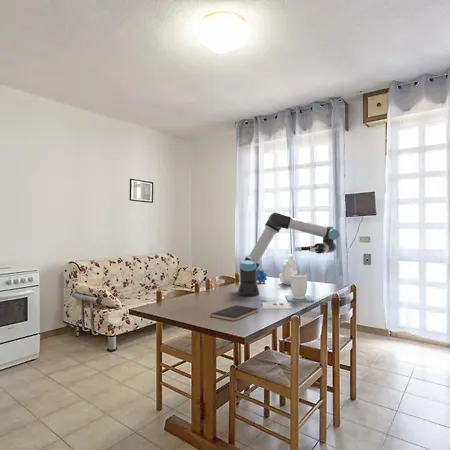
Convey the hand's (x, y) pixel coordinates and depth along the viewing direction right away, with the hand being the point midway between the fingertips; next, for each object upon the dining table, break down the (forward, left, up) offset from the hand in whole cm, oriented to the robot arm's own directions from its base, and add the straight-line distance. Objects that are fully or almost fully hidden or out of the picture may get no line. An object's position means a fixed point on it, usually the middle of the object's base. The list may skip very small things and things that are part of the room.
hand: (303, 249), depth 228 cm
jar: (-5, -9, -31) cm, 33 cm away
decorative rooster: (-6, +48, -32) cm, 58 cm away
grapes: (-28, +56, -32) cm, 71 cm away
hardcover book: (-45, -46, -33) cm, 72 cm away
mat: (-5, -9, -32) cm, 33 cm away
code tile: (-21, -26, -32) cm, 46 cm away
